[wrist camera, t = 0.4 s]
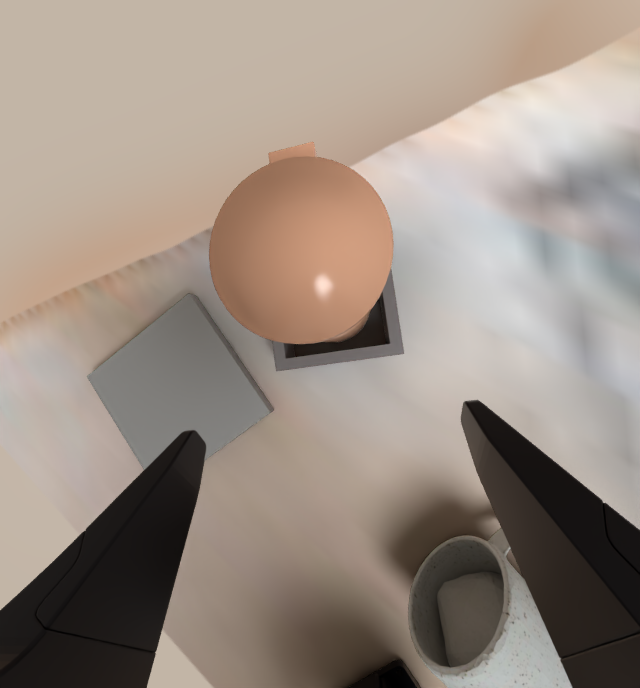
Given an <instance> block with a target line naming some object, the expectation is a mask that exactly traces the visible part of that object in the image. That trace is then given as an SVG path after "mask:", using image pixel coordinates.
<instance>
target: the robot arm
mask: <svg viewBox="0 0 640 688" xmlns="http://www.w3.org/2000/svg"><path fill="white" fill-rule="evenodd" d="M461 423H462V427H463V430H464V433H465V436H466V440H467V443H468V446H469V449H470V452H471V455H472V459H473V462H474V465H475V468H476V471H477V473H478V476H479V478H480V481H481V483H482V485H483V487H484V490H485V492H486V494H487V496H488V499H489V501H490V503H491V505H492V508H493V510H494V512H495V514H496V517H497V519H498V521H499V523H500V526H501V528H502V530H503V532H504V535H505V537H506V539H507V541H508V544H509V546H510V548H511V550H512V553H513V555H514V557H515V559H516V562H517V564H518V566H519V568H520V571H521V573H522V575H523V577H524V580H525V582H526V584H527V586H528V589H529V591H530V593H531V595H532V598H533V600H534V602H535V604H536V607H537V609H538V611H539V613H540V616H541V618H542V620H543V622H544V624H545V627H546V629H547V631H548V633H549V636H550V638H551V640H552V642H553V645H554V647H555V649H556V651H557V654H558V656H559V658H561V659H560V661H561V663H562V665H563V668H564V670H565V672H566V674H567V677H568V679H569V681H570V683H571V686H572V688H640V530H639V529H638V528H636V527H635V526H634V525H633V524H631V523H630V522H629V521H628V520H626V519H625V518H624V517H622V516H621V515H620V514H619V513H618V512H616V511H615V510H614V509H613V508H611V507H610V506H609V505H608V504H606V503H603V501H602V500H601V499H600V498H599V497H598V496H596V495H595V494H594V493H593V492H591V491H590V490H589V489H588V488H587V487H585V486H584V485H583V484H582V483H580V482H579V481H578V480H577V479H575V478H574V477H573V476H572V475H570V474H569V473H568V472H567V471H566V470H564V469H563V468H562V467H561V466H559V465H558V464H557V463H556V462H554V461H553V460H552V459H551V458H550V457H548V456H547V455H546V454H545V453H543V452H542V451H541V450H540V449H538V448H537V447H536V446H535V445H533V444H532V443H531V442H530V441H529V440H527V439H526V438H525V437H524V436H522V435H521V434H520V433H519V432H517V431H516V430H515V429H514V428H513V427H511V426H510V425H509V424H508V423H506V422H505V421H504V420H503V419H501V418H500V417H499V416H498V415H497V414H495V413H494V412H493V411H492V410H490V409H489V408H488V407H487V406H485V405H484V404H483V403H482V402H480V401H478V400H471V401H465V402H464V403H463V408H462V414H461ZM205 454H206V443H205V441H204V440H203V439H202V437H201V436H200V435H199V434H198V432H197V431H196V430H187V431H183V432H182V433H181V434H180V435H179V436H178V437H177V438H176V439H175V440H174V441H173V442H172V443H171V444H170V445H169V446H168V447H167V448H166V449H165V450H164V451H163V452H162V453H161V454H160V455H159V456H158V457H157V458H156V459H155V460H154V461H153V462H152V463H151V464H150V465H149V466H148V467H147V468H146V469H145V470H144V471H143V472H142V473H141V474H140V475H139V476H138V477H137V478H136V479H135V480H134V481H133V482H132V483H131V484H130V485H129V486H128V487H127V488H126V489H125V490H124V491H123V492H122V493H121V494H120V495H119V496H118V497H117V498H116V499H115V500H114V501H113V502H112V503H111V504H110V505H109V506H108V507H107V508H106V509H105V510H104V511H103V512H102V513H101V514H100V515H99V516H98V517H97V518H96V519H95V520H94V521H93V522H92V523H91V524H90V525H89V526H88V527H87V529H86V531H84V532H82V533H81V534H80V535H79V536H78V537H77V539H76V540H74V542H73V543H72V544H71V545H69V546H68V547H67V548H66V549H65V550H64V551H63V552H62V554H60V555H59V556H58V557H57V558H56V559H55V560H54V561H53V562H52V563H51V564H50V565H49V566H48V567H47V568H46V569H45V570H44V571H43V572H42V573H40V574H39V575H38V576H37V577H36V578H35V579H34V580H33V581H32V582H31V583H30V584H29V585H28V586H27V587H25V588H24V589H23V590H22V591H21V592H20V593H19V594H18V595H17V596H16V597H14V598H13V599H12V600H11V601H10V602H9V603H8V604H7V605H6V606H5V607H3V608H2V609H1V610H0V688H147V684H148V680H149V676H150V673H151V669H152V665H153V661H154V658H155V652H156V650H157V646H158V642H159V639H160V635H161V631H162V628H163V624H164V620H165V616H166V613H167V609H168V605H169V602H170V598H171V594H172V591H173V587H174V583H175V579H176V576H177V572H178V568H179V565H180V561H181V557H182V553H183V550H184V546H185V542H186V539H187V535H188V531H189V528H190V524H191V520H192V516H193V513H194V509H195V505H196V502H197V498H198V494H199V489H200V484H201V478H202V472H203V466H204V460H205ZM398 669H400V670H398ZM348 688H420V686H419V685H418V683H417V682H416V680H415V679H414V677H413V676H412V674H411V673H410V671H409V670H408V668H407V667H406V665H405V664H404V663H403V662H402V661H400V660H396V661H394V662H392V663H390V664H388V665H387V666H385V667H383V668H381V669H380V670H378V671H376V672H374V673H373V674H371V675H369V676H367V677H366V678H364V679H362V680H360V681H359V682H357V683H355V684H353V685H352V686H350V687H348Z"/></svg>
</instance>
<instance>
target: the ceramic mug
mask: <svg viewBox="0 0 640 688" xmlns="http://www.w3.org/2000/svg"><path fill="white" fill-rule="evenodd" d="M510 549H511V548H510V546H509V544H508V541H507V539H506V537H505V535H504V532H503V530H502V528H500V529H499V530H498V531H497V532H496V533H495V534H493V535H492V536H491V538H490V539H489V540H488V541H486V540H484V539H482V538H479V537H476V536H470V535H463V536H457V537H453V538H451V539H449V540H447V541H445V542H443V543H442V544H440V545H439V546H438V547H436V548H435V549H434V550H433V551H432V552H431V553H430V554H429V555H428V556H427V558H426V559H425V560H424V562H423V563H422V565H421V566H420V568H419V570H418V572H417V574H416V577H415V579H414V581H413V584H412V587H411V592H410V597H409V605H408V620H409V629H410V633H411V638H412V641H413V643H414V646H415V648H416V650H417V652H418V654H419V656H420V658H421V659H422V660H423V662H424V663H425V665H426V666H427V667H428V669H429V670H430V671H431V672H432V673H433V674H434V675H435V676H437V677H438V678H439V679H440V680H441V681H442V682H443V683H444V684H445V685H446V686H447V687H448V688H572V686H571V683H570V681H569V679H568V677H567V674H566V672H565V670H564V668H563V665H562V663H561V661H560V659H561V658H559V656H558V654H557V651H556V649H555V647H554V645H553V642H552V640H551V638H550V636H549V633H548V631H547V629H546V627H545V624H544V622H543V620H542V618H541V616H540V613H539V611H538V609H537V607H536V604H535V602H534V600H533V598H532V595H531V593H530V591H529V589H528V586H527V584H526V582H525V580H524V578H523V577H522V576H521V575H520V574H519V573H518V572H517V571H516V570H515V569H514V567H513V566H512V565H511V564H510V563H509V562H508V560H507V558H506V557H507V553H508V551H509V550H510Z"/></svg>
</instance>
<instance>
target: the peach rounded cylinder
mask: <svg viewBox="0 0 640 688" xmlns="http://www.w3.org/2000/svg"><path fill="white" fill-rule="evenodd" d="M269 161H270V163H269V165H266V166H264V167H262V168H260V169H259V170H257V171H256V172H254V173H252V174H251V175H250V176H248V177H247V178H246V179H245V180H243V181H242V182H241V183H240V184H239V185H238V186H237V187H236V188H235V190H233V192H232V193H231V194H230V196H229V197H228V198H227V199H226V201H225V203H224V204H223V206H222V208H221V209H220V212H219V214H218V216H217V218H216V221H215V224H214V227H213V230H212V234H211V240H210V249H209V261H210V270H211V275H212V280H213V283H214V286H215V289H216V291H217V293H218V295H219V297H220V299H221V301H222V303H223V304H224V306H225V307H226V309H227V310H228V311H229V312H230V314H231V315H232V316H233V317H234V318H235V319H236V320H237V321H238V322H239V323H240V324H242V325H243V326H244V327H246V328H247V329H249V330H250V331H252V332H253V333H255V334H257V335H259V336H261V337H264V338H266V339H269V340H272V341H277V342H282V343H289V344H312V343H318V342H322V341H323V342H328V343H338V342H343V341H346V340H348V339H350V338H352V337H354V336H355V335H357V334H358V333H359V332H360V331H361V330H362V329H363V327H364V326H365V324H366V323H367V320H368V318H369V315H370V311H371V309H372V308H373V306H374V305H375V303H376V302H377V300H378V299H379V297H380V295H381V293H382V291H383V289H384V287H385V284H386V281H387V278H388V275H389V272H390V269H391V263H392V258H393V233H392V227H391V223H390V218H389V216H388V213H387V210H386V208H385V206H384V204H383V202H382V200H381V198H380V197H379V195H378V194H377V192H376V191H375V190H374V188H373V187H372V186H371V185H370V184H369V183H368V182H367V181H366V180H365V179H364V178H363V177H362V176H361V175H359V174H358V173H357V172H355V171H354V170H352V169H350V168H349V167H347V166H345V165H343V164H340V163H338V162H335V161H333V160H328V159H325V158H320V157H317V155H316V150H315V146H314V142H310V143H306V144H302V145H298V146H295V147H291V148H286V149H283V150H279V151H275V152H270V153H269Z"/></svg>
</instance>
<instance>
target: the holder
mask: <svg viewBox="0 0 640 688" xmlns="http://www.w3.org/2000/svg"><path fill="white" fill-rule="evenodd" d="M379 299H380V305H381V312H382V318H383V325H384V332H385V338H386V344H385V345H378V346H371V347H364V348H357V349H350V350H343V351H336V352H329V353H322V354H315V355H308V356H301V357H295V353H294V345H293V344H289V343H282V342H277V341H272V343H273V351H274V358H275V366H276V371H282V370H289V369H296V368H304V367H311V366H318V365H326V364H333V363H340V362H348V361H355V360H362V359H370V358H377V357H384V356H392V355H399V354H404V349H403V343H402V336H401V330H400V323H399V316H398V310H397V303H396V297H395V290H394V284H393V277H392V271H391V269H390V272H389V275H388V278H387V281H386V284H385V287H384V289H383V291H382V293H381V295H380V297H379Z"/></svg>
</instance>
